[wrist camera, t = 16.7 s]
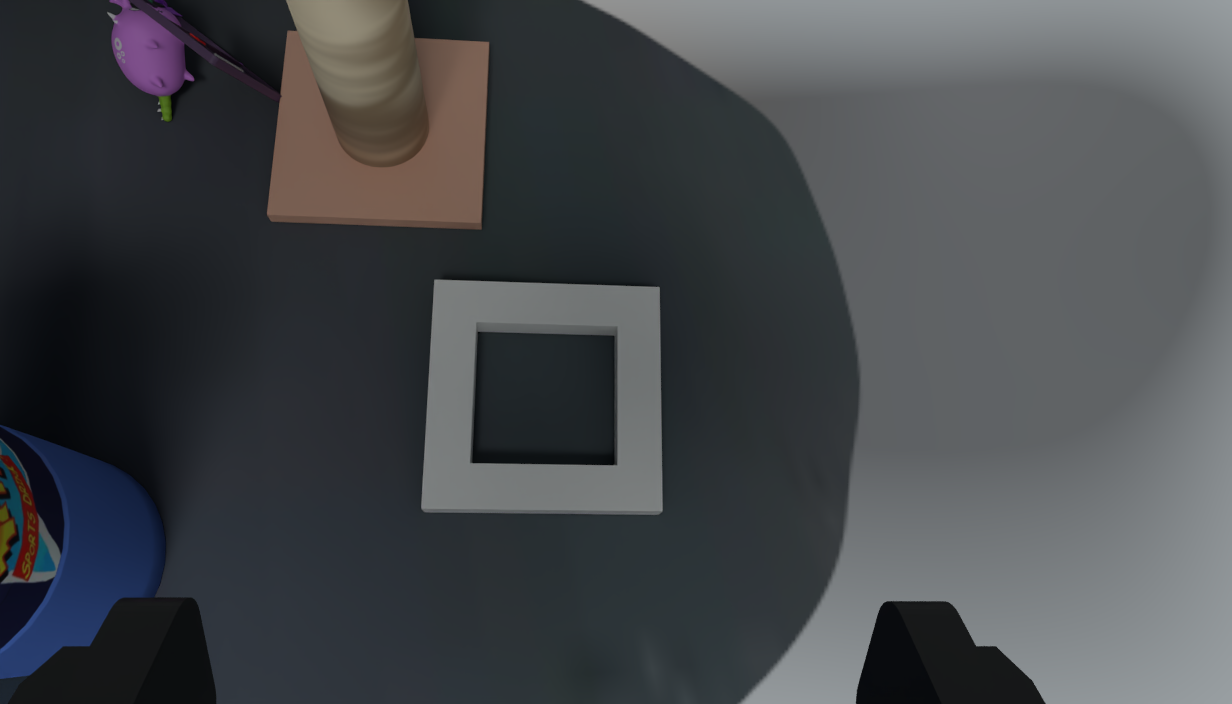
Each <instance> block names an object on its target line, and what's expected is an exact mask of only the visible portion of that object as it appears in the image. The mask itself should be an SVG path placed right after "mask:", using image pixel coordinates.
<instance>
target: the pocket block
mask: <svg viewBox="0 0 1232 704" xmlns="http://www.w3.org/2000/svg"><path fill="white" fill-rule="evenodd" d="M478 332H505V333H541V334H576V335H611V336H615V339H614V465H552V464H487V463H472V456H473V433H474V410H475V387H476V364H477V341H478ZM421 509H422V510H423V511H424V512H438V513H533V514H627V515H658V514H660V513H661V512H662V511H663V507H662V430H661V353H660V287H642V286H612V285H582V284H551V283H521V282H491V281H461V280H434V296H433V314H432V331H431V348H430V365H429V383H428V400H427V417H426V434H425V452H424V469H423V486H422V504H421Z"/></svg>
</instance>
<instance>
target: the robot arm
mask: <svg viewBox="0 0 1232 704" xmlns="http://www.w3.org/2000/svg"><path fill="white" fill-rule="evenodd" d="M8 704H216V690H215V684H214V679H213V674H212V669H211V664H210V659H209V654H208V650H207V645H206V640H205V635H204V630H203V625H202V620H201V615H200V611H199V607H198V604H197V602H196V601H195V600H194V599H193V598H130V597H124V598H121V599H119V600H118V601H117V602H116V603H115V604H114V605H113V606H112V608H111V610H110V611H109V613H108V615H107V616H106V618H105V620H104V622H103V624H102V625H101V627H100V629H99V631H98V632H97V634H96V636H95V638H94V640H93V641H92V643H91V645H90V646H63V647H62V648H61V649H60V650H58V651H57V652H56V653H55V654H54V655H53V656H52V657H50V658H49V659H48V660H47V661H46V662H45V663H44V664H42V665H41V666H40V667H39V668H38V669H37V670H36V671H34V672H33V673H32V674H31V675H30V676H29V677H28V678H26V679H25V680H24V681H23V682H22V683H21V684H20V685H19V686H18V688H17V690H16V691H15V693H14V694H13V696H12V698H11V699H10V701H9V702H8ZM856 704H1045V702H1044V701H1043V699H1042V697H1041V695H1040V693H1039V692H1038V690H1037V688H1036V686H1035V685H1034V683H1033V681H1032V680H1031V679H1029V677H1028V676H1027V675H1025V674H1024V673H1023V672H1022V671H1021V670H1020V669H1019V668H1018V667H1017V666H1016V665H1015V664H1014V663H1013V662H1012V661H1011V660H1010V659H1008V658H1007V657H1006V656H1005V655H1004V654H1003V653H1002V652H1001V651H1000V650H999V649H998V648H997V647H995V646H990V647H988V646H979V647H978V646H976V645H975V644H974V642H973V640H972V638H971V636H970V634H969V632H968V630H967V628H966V627H965V625H964V623H963V621H962V619H961V617H960V615H959V613H958V612H957V610H956V609H955V608H954V607H953V605H951V604H950V603H949V602H943V601H942V602H941V601H937V602H936V601H931V602H930V601H929V602H926V601H924V602H923V601H919V602H918V601H917V602H915V601H911V602H910V601H908V602H907V601H887V602H885V603H883V605H882V606H881V608H880V610H879V613H878V616H877V619H876V623H875V627H874V630H873V634H872V637H871V641H870V645H869V649H868V652H867V655H866V659H865V663H864V666H863V670H862V673H861V677H860V681H859V684H858V689H857V696H856Z"/></svg>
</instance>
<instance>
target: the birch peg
mask: <svg viewBox="0 0 1232 704" xmlns="http://www.w3.org/2000/svg"><path fill="white" fill-rule="evenodd" d="M286 1H287V4H288V7H289V10H290V12H291V15H292V18H293V20H294V23H295V26H296V28H297V31H298V34H299V36H300V39H301V42H302V44H303V47H304V50H305V53H306V55H307V58H308V61H309V63H310V66H311V69H312V71H313V74H314V77H315V79H316V82H317V85H318V88H319V90H320V93H321V96H322V98H323V101H324V104H325V106H326V109H327V112H328V114H329V117H330V120H331V123H332V125H333V128H334V131H335V133H336V136H337V139H338V141H339V143H340V145H341V147H342V148H343V150H344V151H345V152H346V153H347V154H348V155H349V156H350V157H351V158H353V159H354V160H356V161H358V162H360V163H362V164H364V165H368V166H372V167H392V166H396V165H399V164H402V163H404V162H406V161H408V160H410V159H411V158H413V157H414V156H415V155H416V154H417V153H418V152H419V151H420V150H421V149H422V147H423V146H424V144H425V142H426V140H427V137H428V133H429V119H428V113H427V107H426V102H425V96H424V90H423V84H422V79H421V73H420V67H419V62H418V56H417V50H416V45H415V39H414V33H413V27H412V22H411V16H410V10H409V5H408V0H286Z"/></svg>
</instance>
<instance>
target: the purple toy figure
mask: <svg viewBox="0 0 1232 704" xmlns="http://www.w3.org/2000/svg"><path fill="white" fill-rule="evenodd" d="M129 1H130V2H131V3H130V2H129ZM129 1H128V0H110V2H111V3H115V4H118V5H120V6H121V7H122V12H121V13H120V14H118V15H113V14H111V13H109V12H107V13H108V15H109V16H110V17H111V18H112V19H113V21H114V26H113V30H112V48H113V52H114V55H115V58H116V60H117V63H118V65H119V66H120V68H121V70H122V72H123V73H124V74H125V76H126V77H127V78H128V79H129V81H130V82H131V83H132V84H133V85H135V86H136V87H137V88H139V89H140V90H142V91H144V92H146V93H149V94H152V95H156V96H157V97H158V98H159V102H158V105H159V104H160V105H161V109H158V111H157V112H159V111H160V112H162V114H163V116H162V117H161V118H162V120H164V121H166V122H169V121H171V120H172V115H171V114H172V109H171V94H173V93H175V92H177V91H178V90H179V89H180V88H181V86H182V85H183V83H184V80H189V81H194V77H193V76H192V75H191V74H190V73H189V72H188V71H187V70H186V66H185V50H184V44H186V45H187V46H189V47H190V48H191V49H192V50H194V51H195V52H196V53H198V54H199V55H200V56H202V57H203V58H204V59H205V60H207V61H208V62H209V63H211V64H212V65H214V66H215V67H217V68H219V69H221V70H222V71H224V72H226V73H228V74H229V75H231V76H233V77H234V78H236V79H238V80H240V81H241V82H243V83H245V84H247V85H248V86H250V87H252V88H254V89H255V90H257V91H259V92H261V93H262V94H264V95H266V96H267V97H269V98H271V99H273V100H274V101H276V102H278V103H280V98H281V97H282V96H281V94H280V93H279V92H278V91H276V90H275V89H274V88H272V87H271V86H270V85H269V84H267V83H266V82H265V81H263V80H262V79H261V78H259V77H258V76H257V75H255V74H254V73H253V72H252V71H250V70H249V69H248V68H246V67H245V66H244V65H243V64H242V63H240V62H239V61H237V60H236V59H235V58H233V57H232V56H231V55H229V54H228V53H227V52H225V51H224V50H223V49H222V48H220V47H219V46H218V45H216V44H215V43H214V42H212V41H211V40H210V39H208V38H207V37H206V36H205V35H203V34H202V33H201V32H199V31H198V30H197V29H195V28H194V27H193V26H192V25H190V24H189V23H188V22H186V21H185V20H184V19H182V18H181V17H180V16H182V15H180V14H179V13H177V12H176V11H174V10H173V8H171V7H167V3H166V2H165V1H164V0H129Z"/></svg>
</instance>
